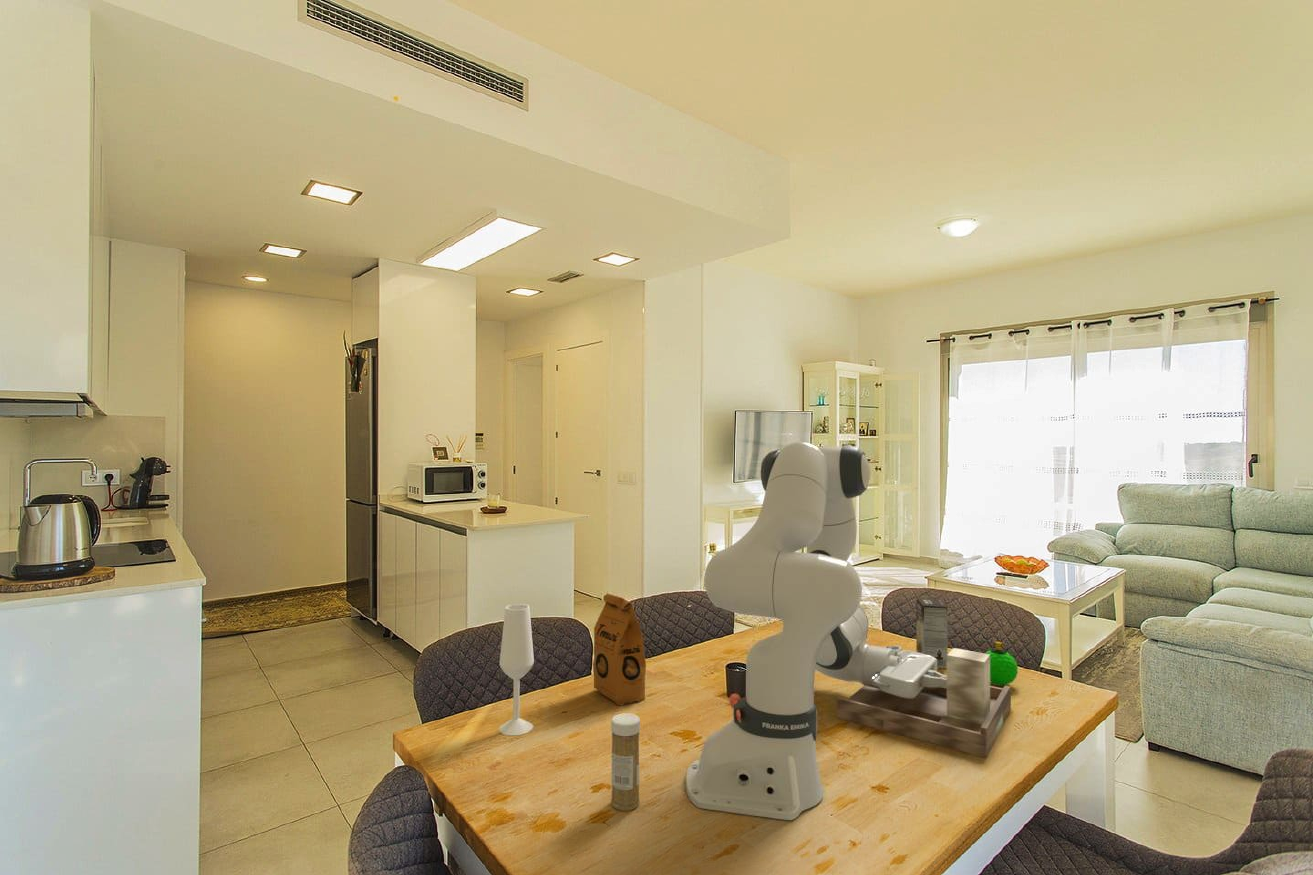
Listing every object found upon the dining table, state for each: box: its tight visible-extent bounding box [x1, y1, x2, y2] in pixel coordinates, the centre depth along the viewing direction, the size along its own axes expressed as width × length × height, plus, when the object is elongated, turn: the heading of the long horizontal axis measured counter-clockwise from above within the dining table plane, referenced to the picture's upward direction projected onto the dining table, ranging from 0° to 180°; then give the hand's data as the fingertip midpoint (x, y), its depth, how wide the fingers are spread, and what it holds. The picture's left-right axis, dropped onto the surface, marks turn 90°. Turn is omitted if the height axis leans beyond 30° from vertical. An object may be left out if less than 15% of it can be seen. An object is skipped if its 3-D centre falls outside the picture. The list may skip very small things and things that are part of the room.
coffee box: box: [915, 597, 949, 670], centre depth 169 cm, size 9×6×16 cm
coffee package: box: [592, 592, 647, 706], centre depth 145 cm, size 10×12×22 cm
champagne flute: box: [498, 603, 535, 736], centre depth 128 cm, size 7×7×24 cm
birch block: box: [946, 647, 991, 722], centre depth 132 cm, size 7×6×12 cm
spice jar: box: [610, 712, 641, 812], centre depth 101 cm, size 5×5×14 cm
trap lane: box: [836, 685, 1012, 758], centre depth 137 cm, size 28×28×5 cm
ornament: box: [984, 641, 1019, 686], centre depth 154 cm, size 8×8×10 cm
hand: (949, 682), depth 134 cm, fingers closed
